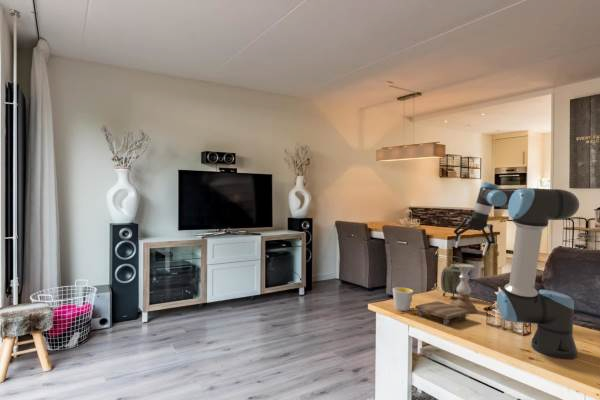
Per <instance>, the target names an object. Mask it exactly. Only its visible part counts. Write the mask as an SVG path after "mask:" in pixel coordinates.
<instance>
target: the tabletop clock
mask: <svg viewBox="0 0 600 400" xmlns="http://www.w3.org/2000/svg"><path fill="white" fill-rule="evenodd" d="M452 258H456V259H457V258H458V259H459V260H460V261H458V262H456V260H453V261H451V260H450V259H452ZM448 262H450V263H451V264H450V266H446V267H445V266H444V267H443V268H442V271H441V275H440V287H441V291H442V292H443V293H442V296H443V297H444V296H446V293H449V294H452V296H451V299H452V300H455V298H456V297H455V295H458V294H459V293H458V292H457V291H456V288H457V286H458V285H459V284H460V282H461V280H460V278H459V276H460V274H461V271H460V270H459V268H458V267H455V264H461V262H462V259H461V258H460V257H459V256H455V255H452V256H449V257H448Z"/></svg>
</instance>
